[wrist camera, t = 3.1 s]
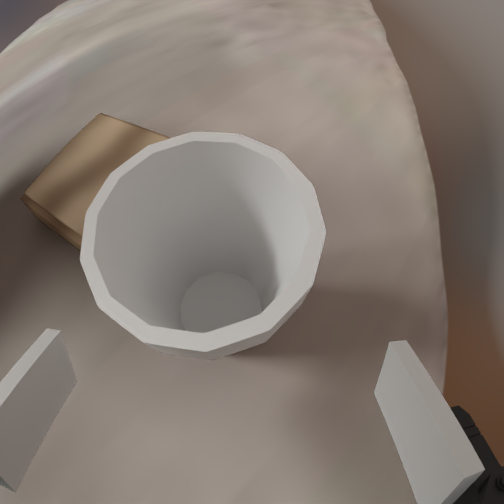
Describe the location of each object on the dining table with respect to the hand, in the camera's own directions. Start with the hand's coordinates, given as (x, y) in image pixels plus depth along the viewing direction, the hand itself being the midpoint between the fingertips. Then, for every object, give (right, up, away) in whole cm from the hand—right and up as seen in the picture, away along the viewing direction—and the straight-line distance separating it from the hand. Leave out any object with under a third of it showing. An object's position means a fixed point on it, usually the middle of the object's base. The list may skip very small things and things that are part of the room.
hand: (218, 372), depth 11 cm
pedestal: (-12, +10, +16) cm, 23 cm away
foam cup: (-1, 0, +12) cm, 12 cm away
